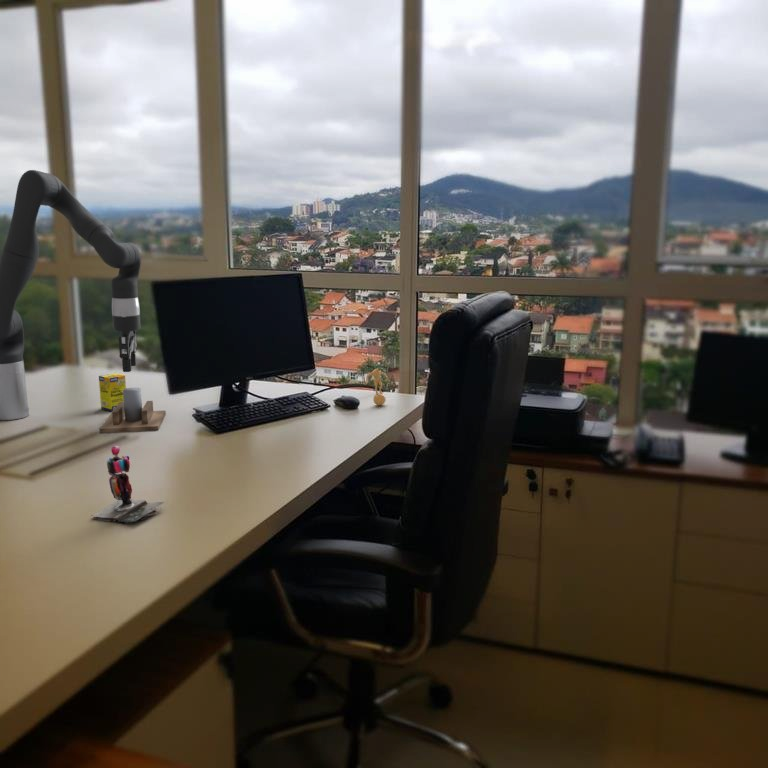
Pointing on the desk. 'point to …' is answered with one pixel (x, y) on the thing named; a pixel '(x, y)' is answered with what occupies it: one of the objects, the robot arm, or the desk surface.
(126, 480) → the statue
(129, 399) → the grey block
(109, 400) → the supplement box
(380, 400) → the figurine
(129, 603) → the desk surface
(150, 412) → the holder
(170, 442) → the desk surface
